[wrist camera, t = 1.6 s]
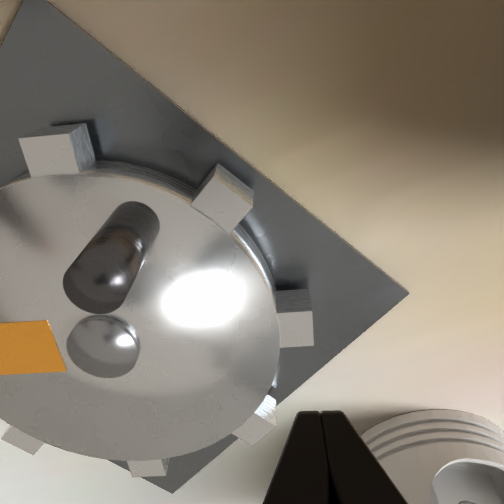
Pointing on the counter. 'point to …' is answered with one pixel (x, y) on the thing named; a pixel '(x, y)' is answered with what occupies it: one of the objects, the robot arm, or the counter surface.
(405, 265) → the counter surface
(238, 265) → the sprocket
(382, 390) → the counter surface
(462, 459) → the engine component
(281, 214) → the cover plate
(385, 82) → the counter surface
